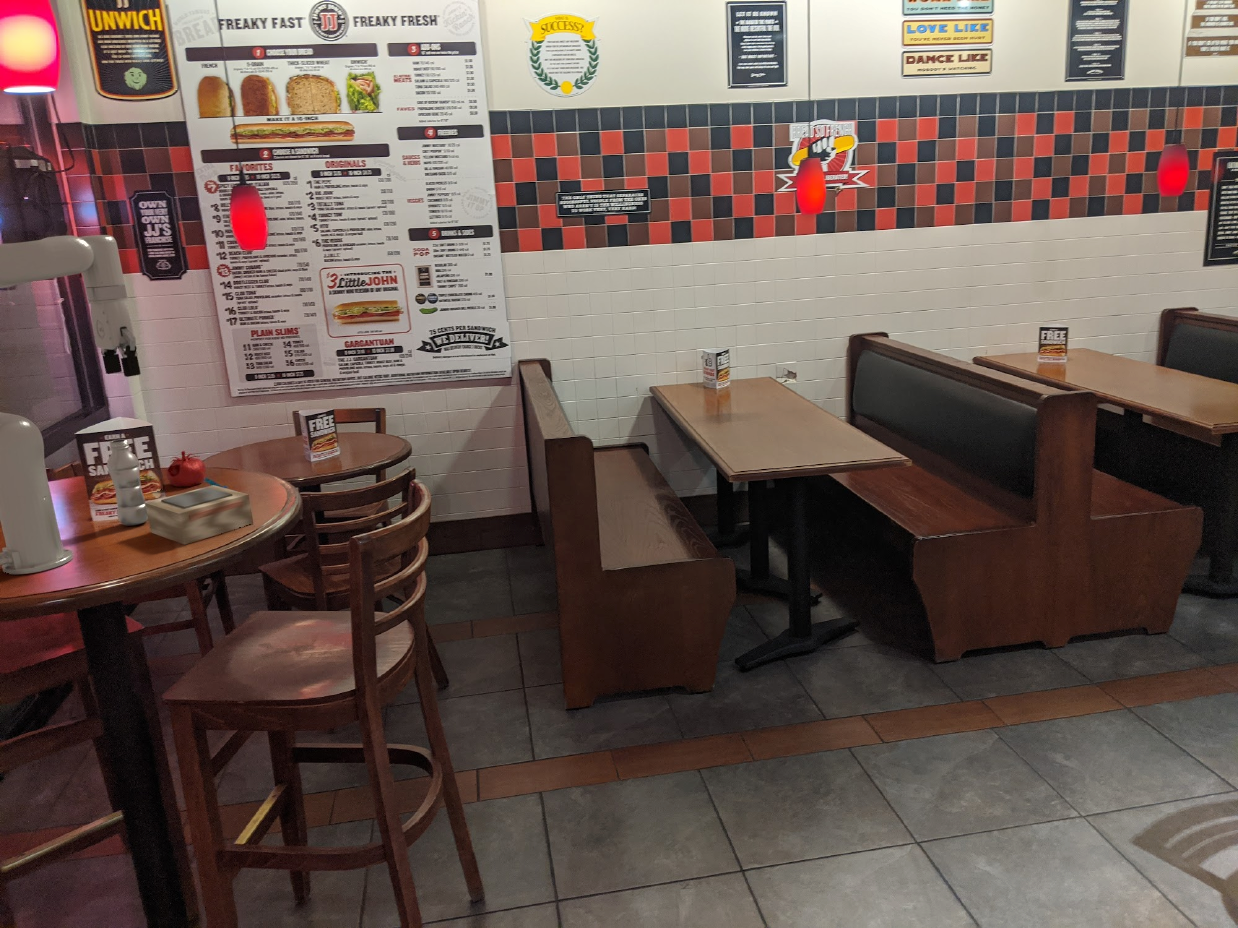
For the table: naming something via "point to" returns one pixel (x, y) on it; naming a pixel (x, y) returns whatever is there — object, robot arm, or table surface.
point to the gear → (214, 483)
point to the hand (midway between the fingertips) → (123, 374)
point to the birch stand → (199, 514)
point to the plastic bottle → (127, 484)
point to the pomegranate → (186, 471)
